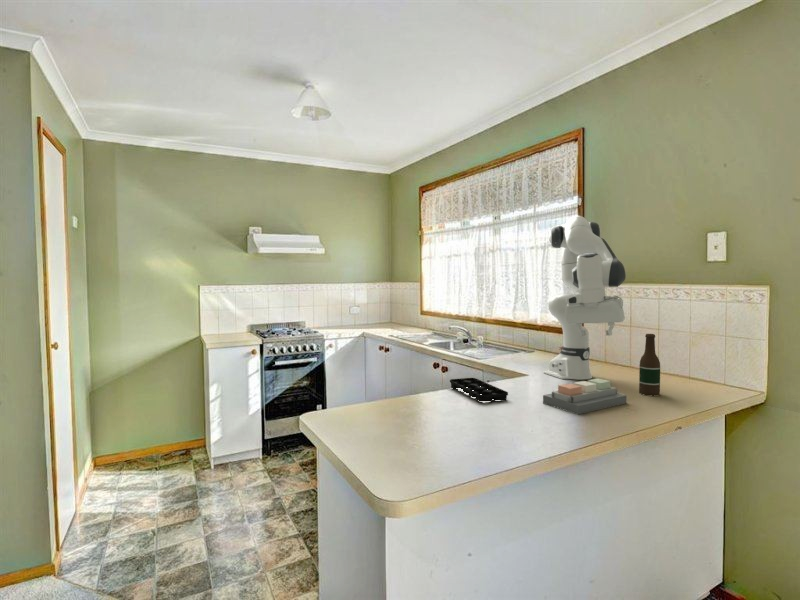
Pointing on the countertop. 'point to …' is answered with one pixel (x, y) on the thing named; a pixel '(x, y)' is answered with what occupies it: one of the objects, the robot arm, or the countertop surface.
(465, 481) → the countertop surface
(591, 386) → the cream key
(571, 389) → the terracotta key
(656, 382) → the beer bottle
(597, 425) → the countertop surface
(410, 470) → the countertop surface
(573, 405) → the keypad
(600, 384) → the sage key
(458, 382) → the egg carton
